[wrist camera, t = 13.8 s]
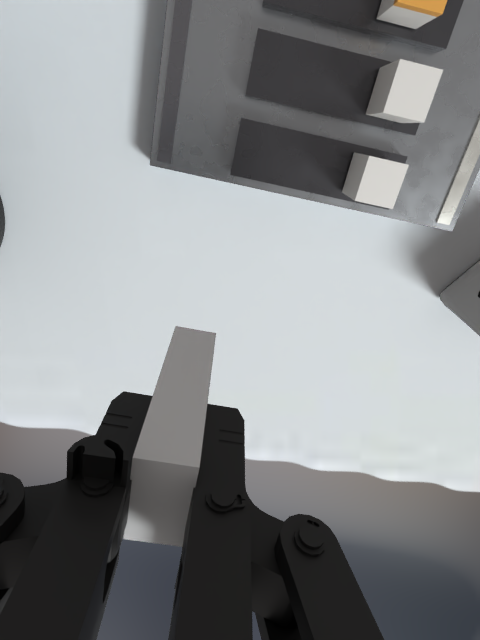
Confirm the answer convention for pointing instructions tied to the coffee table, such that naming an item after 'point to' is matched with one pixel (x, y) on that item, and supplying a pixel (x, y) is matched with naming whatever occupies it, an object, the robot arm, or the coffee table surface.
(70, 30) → the coffee table surface
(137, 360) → the coffee table surface
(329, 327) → the coffee table surface
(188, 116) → the panel
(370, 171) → the block
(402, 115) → the block
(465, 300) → the electrical switch
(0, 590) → the robot arm
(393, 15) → the block
